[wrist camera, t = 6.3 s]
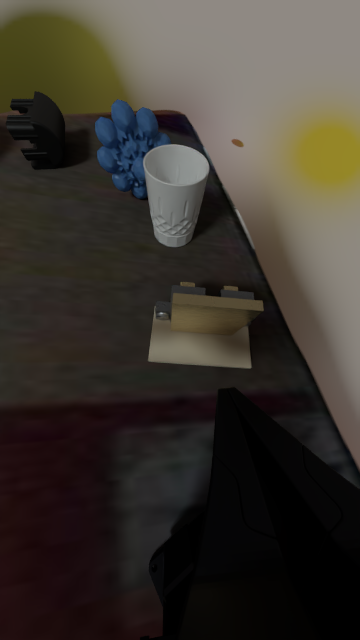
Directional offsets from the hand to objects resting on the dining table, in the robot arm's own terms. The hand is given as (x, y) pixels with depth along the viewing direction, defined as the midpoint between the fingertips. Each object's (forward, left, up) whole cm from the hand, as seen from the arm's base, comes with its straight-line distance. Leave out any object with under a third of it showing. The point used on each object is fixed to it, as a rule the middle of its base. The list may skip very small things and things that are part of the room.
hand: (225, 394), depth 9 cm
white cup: (+23, -11, -14) cm, 29 cm away
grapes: (+32, -10, -14) cm, 36 cm away
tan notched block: (+7, -6, -12) cm, 15 cm away
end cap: (+52, 0, -14) cm, 53 cm away
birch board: (+5, -5, -14) cm, 15 cm away
